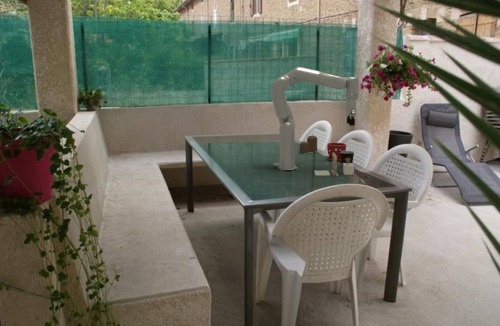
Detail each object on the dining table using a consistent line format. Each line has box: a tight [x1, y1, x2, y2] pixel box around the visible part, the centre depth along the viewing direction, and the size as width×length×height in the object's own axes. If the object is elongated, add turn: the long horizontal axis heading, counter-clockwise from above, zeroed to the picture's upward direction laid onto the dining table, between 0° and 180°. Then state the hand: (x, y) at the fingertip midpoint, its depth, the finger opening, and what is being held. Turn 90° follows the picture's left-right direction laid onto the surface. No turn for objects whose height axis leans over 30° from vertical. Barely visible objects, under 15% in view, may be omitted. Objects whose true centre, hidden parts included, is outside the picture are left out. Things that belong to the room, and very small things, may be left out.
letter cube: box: [342, 162, 355, 176], centre depth 263 cm, size 7×6×6 cm
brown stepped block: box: [299, 133, 318, 153], centre depth 331 cm, size 14×14×15 cm
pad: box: [313, 170, 331, 177], centre depth 264 cm, size 9×11×1 cm
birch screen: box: [330, 153, 339, 177], centre depth 263 cm, size 3×13×12 cm, turn 176°
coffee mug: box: [336, 150, 355, 168], centre depth 280 cm, size 12×9×10 cm
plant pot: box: [326, 142, 347, 162], centre depth 301 cm, size 13×13×12 cm
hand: (350, 124), depth 267 cm, fingers open, 9 cm apart
